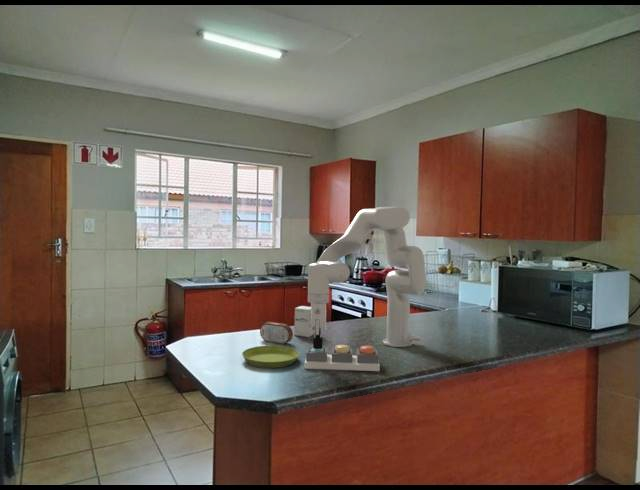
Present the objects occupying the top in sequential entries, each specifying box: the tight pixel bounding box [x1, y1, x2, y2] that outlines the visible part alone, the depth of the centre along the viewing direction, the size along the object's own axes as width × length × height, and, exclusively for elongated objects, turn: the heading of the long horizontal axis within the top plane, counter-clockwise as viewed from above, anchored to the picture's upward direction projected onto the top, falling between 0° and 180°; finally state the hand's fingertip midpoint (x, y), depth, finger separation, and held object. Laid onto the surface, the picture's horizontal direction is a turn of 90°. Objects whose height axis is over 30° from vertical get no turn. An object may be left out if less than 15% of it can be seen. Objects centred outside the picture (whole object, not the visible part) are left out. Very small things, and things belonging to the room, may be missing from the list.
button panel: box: [303, 346, 381, 372], centre depth 156 cm, size 26×11×5 cm, turn 87°
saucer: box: [241, 345, 300, 369], centre depth 160 cm, size 21×21×3 cm
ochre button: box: [334, 344, 350, 354], centre depth 156 cm, size 5×5×3 cm
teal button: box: [310, 348, 324, 353], centre depth 157 cm, size 5×5×3 cm
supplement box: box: [293, 305, 314, 338], centre depth 200 cm, size 7×7×13 cm
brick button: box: [359, 345, 375, 354], centre depth 156 cm, size 5×5×3 cm
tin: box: [259, 321, 294, 345], centre depth 186 cm, size 15×3×8 cm, turn 65°
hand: (317, 348), depth 157 cm, fingers closed
